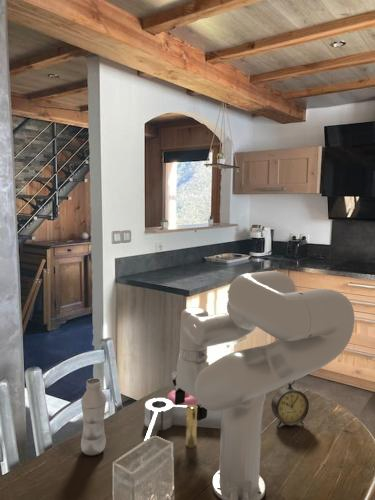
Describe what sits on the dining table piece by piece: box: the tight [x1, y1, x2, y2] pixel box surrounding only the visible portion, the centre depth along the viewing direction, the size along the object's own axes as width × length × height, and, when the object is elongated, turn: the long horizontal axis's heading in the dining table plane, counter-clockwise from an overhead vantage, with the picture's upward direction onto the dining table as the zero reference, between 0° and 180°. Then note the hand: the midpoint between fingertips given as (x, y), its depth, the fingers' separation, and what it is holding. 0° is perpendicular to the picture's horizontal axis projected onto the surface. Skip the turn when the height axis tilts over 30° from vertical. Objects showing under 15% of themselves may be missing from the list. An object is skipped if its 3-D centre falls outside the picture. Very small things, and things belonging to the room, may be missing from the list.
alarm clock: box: [270, 380, 310, 429], centre depth 127 cm, size 11×5×16 cm, turn 104°
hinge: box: [143, 397, 223, 442], centre depth 118 cm, size 24×24×6 cm
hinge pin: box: [185, 405, 198, 449], centre depth 115 cm, size 3×3×11 cm
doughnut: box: [165, 389, 199, 406], centre depth 139 cm, size 11×11×4 cm
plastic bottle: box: [80, 377, 107, 456], centre depth 111 cm, size 6×7×20 cm
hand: (190, 410), depth 116 cm, fingers open, 9 cm apart
